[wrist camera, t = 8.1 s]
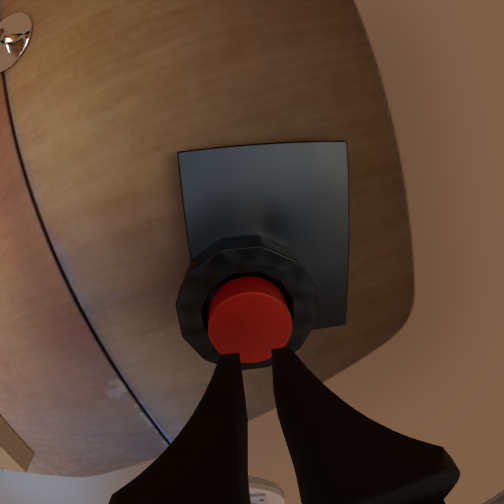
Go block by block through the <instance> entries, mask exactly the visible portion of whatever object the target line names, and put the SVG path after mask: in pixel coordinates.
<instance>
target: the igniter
mask: <svg viewBox="0 0 504 504" xmlns="http://www.w3.org/2000/svg"><path fill="white" fill-rule="evenodd" d="M291 332H292V318H291V315H290V312H289V310H288V307H287V305H286V302H285V300H284V297H283V295H282V293H281V292H280V290H279V289H278V288H277V287H276V286H275V285H274V284H273V283H271V282H270V281H268V280H266V279H263V278H260V277H255V276H243V277H238V278H235V279H232V280H230V281H228V282H226V283H225V284H223V285H222V286H221V287H220V288H219V289H218V290H217V291H216V292H215V294H214V295H213V297H212V299H211V302H210V306H209V320H208V334H209V338H210V341H211V343H212V344H213V346H214V347H215V349H216V350H217V351H218V352H219V353H220V354H230V353H239V354H240V362H242V363H255V362H260V361H264V360H266V359H269V358H271V357H272V353H271V349H275V348H283V347H284V346H285V345H286V344H287V342H288V340H289V338H290V336H291Z"/></svg>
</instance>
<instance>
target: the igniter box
mask: <svg viewBox="0 0 504 504" xmlns="http://www.w3.org/2000/svg"><path fill="white" fill-rule="evenodd" d="M177 156H178V166H179V175H180V184H181V193H182V201H183V210H184V217H185V225H186V233H187V240H188V247H189V254H190V261H191V263H190V265H189V268H188V270H187V272H186V275H185V277H184V280H183V282H182V284H181V287H180V290H179V293H178V297H177V300H176V310H177V315H178V320H179V325H180V329H181V334H182V336H183V338H184V339H185V340H186V341H187V342H188V343H189V344H190V345H191V346H192V347H193V349H194V350H195V351H196V352H197V353H198V354H199V355H200V356H201V357H202V358H203V359H205V360H206V361H209V362H212V363H215V364H217V362H218V358H219V356H220V355H221V354H220V353H219V352H218V351H217V350H216V349H215V347H214V346H213V344H212V343H211V341H210V338H209V334H208V320H209V306H210V302H211V299H212V297H213V295H214V294H215V292H216V291H217V290H218V289H219V288H220V287H221V286H222V285H223V284H225V283H226V282H228V281H230V280H232V279H235V278H238V277H243V276H255V277H260V278H263V279H266V280H268V281H270V282H271V283H273V284H274V285H275V286H276V287H277V288H278V289H279V290H280V292H281V293H282V295H283V297H284V300H285V302H286V305H287V307H288V310H289V312H290V315H291V318H292V332H291V336H290V338H289V340H288V342H287V344H286V345H285V346H284V347H290V348H291V349H292V350H293V351H294V352H295V351H297V350H298V349H300V348H301V346H302V344H303V343H304V341H305V340H306V338H307V337H308V335H309V333H310V332H311V330H314V329H321V328H327V327H333V326H339V325H345V324H346V310H347V292H348V266H349V178H348V153H347V141H300V142H278V143H262V144H248V145H236V146H225V147H215V148H205V149H197V150H188V151H180V152H178V153H177ZM270 366H272V357H271V358H269V359H266V360H264V361H260V362H255V363H242V362H241V370H247V369H256V368H264V367H270Z"/></svg>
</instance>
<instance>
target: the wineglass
mask: <svg viewBox="0 0 504 504" xmlns="http://www.w3.org/2000/svg"><path fill="white" fill-rule="evenodd" d="M31 34H32V21H31V18H30V17H29V16H28V15H27V14H26V13H22V12H18V13H14V14H11V15H9V16H7V17H6V18H4V19H3V20H2V21H1V22H0V73H1V72H3V71H5V70H7V69H9V68H10V67H11V66H12V65H13V64H15V63H16V61H17V60H18V59H19V58H20V57H21V55H22V54H23V52H24V51H25V49H26V47H27V45H28V43H29V40H30V37H31Z"/></svg>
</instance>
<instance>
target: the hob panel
mask: <svg viewBox="0 0 504 504" xmlns="http://www.w3.org/2000/svg"><path fill="white" fill-rule="evenodd" d="M33 456H34V453H33V452H32V451H31V450H30V449H29V448H28V447H27V445H26V444H25V443H24V442H23V441H22V440H21V439H20V438H19V437H18V436H17V434H16V433H15V432H14V431H13V430H12V429H11V428H10V426H9V425H8V424H7V423H6V422H5V420H4V419H3V418H2V417H1V416H0V469H1V470H3V469H8V470H14V471H20V472H27V470H28V467H29V465H30V463H31V460H32V458H33ZM2 468H3V469H2Z"/></svg>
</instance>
